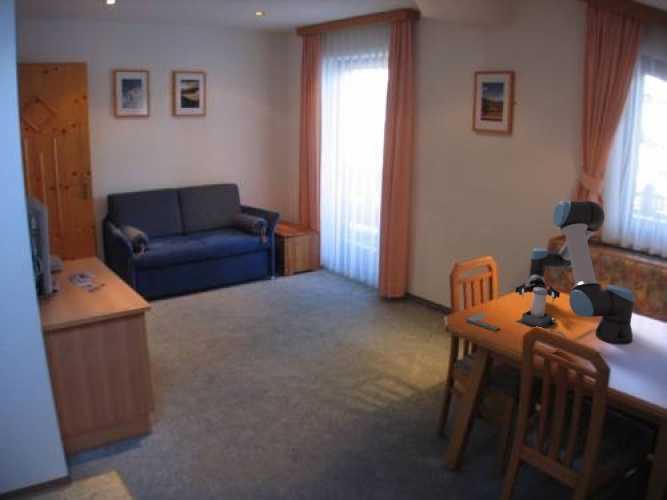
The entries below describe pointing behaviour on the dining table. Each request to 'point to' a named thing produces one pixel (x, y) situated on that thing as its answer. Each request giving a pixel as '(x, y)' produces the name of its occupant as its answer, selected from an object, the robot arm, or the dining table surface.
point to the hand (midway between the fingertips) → (537, 297)
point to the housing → (537, 320)
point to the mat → (474, 318)
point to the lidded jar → (554, 332)
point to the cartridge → (538, 302)
